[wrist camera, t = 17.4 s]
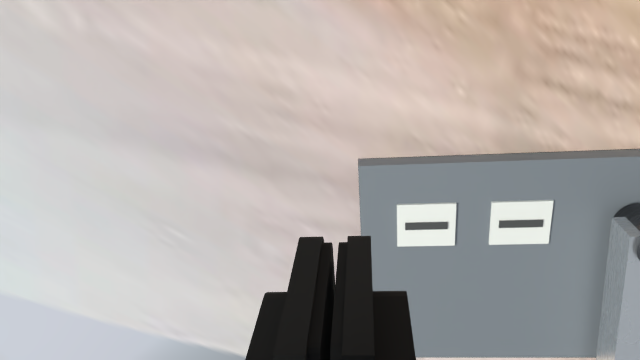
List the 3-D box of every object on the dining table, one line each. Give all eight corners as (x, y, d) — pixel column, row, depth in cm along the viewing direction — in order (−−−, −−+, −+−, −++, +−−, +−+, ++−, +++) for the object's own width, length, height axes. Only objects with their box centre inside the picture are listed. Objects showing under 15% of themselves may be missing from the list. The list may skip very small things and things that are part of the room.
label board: (661, 148, 38) (675, 156, 36) (622, 345, 45) (632, 360, 43) (358, 158, 40) (358, 167, 38) (366, 345, 47) (365, 359, 45)
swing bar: (606, 205, 38) (635, 234, 34) (665, 201, 37) (701, 230, 33) (583, 422, 46) (604, 467, 42) (630, 421, 46) (656, 466, 42)
